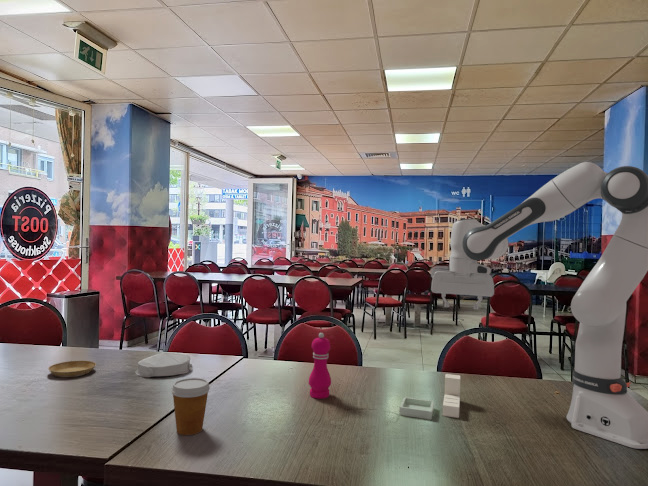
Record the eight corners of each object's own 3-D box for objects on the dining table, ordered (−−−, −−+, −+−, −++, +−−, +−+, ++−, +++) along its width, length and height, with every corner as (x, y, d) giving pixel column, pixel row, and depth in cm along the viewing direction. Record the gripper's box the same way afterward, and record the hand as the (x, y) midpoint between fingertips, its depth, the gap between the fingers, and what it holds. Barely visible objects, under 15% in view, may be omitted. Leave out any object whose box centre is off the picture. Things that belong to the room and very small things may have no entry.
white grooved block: (444, 403, 136) (444, 393, 136) (459, 405, 134) (459, 395, 134) (442, 415, 126) (442, 404, 126) (459, 418, 125) (459, 407, 125)
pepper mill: (328, 400, 136) (330, 335, 136) (305, 398, 137) (307, 334, 137) (332, 392, 143) (334, 331, 143) (311, 390, 144) (312, 329, 144)
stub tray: (403, 404, 134) (403, 396, 134) (433, 408, 132) (433, 401, 132) (399, 414, 126) (399, 407, 126) (431, 419, 123) (431, 411, 123)
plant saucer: (83, 365, 166) (84, 358, 166) (103, 372, 157) (104, 365, 157) (40, 373, 154) (40, 366, 154) (59, 382, 145) (59, 374, 145)
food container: (182, 380, 152) (183, 361, 152) (125, 377, 152) (126, 358, 152) (199, 365, 172) (200, 347, 172) (149, 362, 172) (150, 345, 172)
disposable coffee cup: (187, 442, 105) (189, 392, 105) (161, 431, 110) (163, 384, 110) (216, 428, 113) (218, 381, 113) (191, 419, 118) (192, 375, 118)
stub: (444, 398, 140) (445, 373, 140) (459, 400, 139) (460, 375, 139) (444, 403, 136) (444, 377, 136) (459, 405, 135) (460, 379, 135)
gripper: (430, 265, 147) (429, 306, 148) (495, 269, 142) (493, 311, 142) (431, 264, 154) (429, 304, 154) (493, 268, 148) (491, 309, 148)
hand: (461, 307), depth 148 cm, fingers open, 8 cm apart
